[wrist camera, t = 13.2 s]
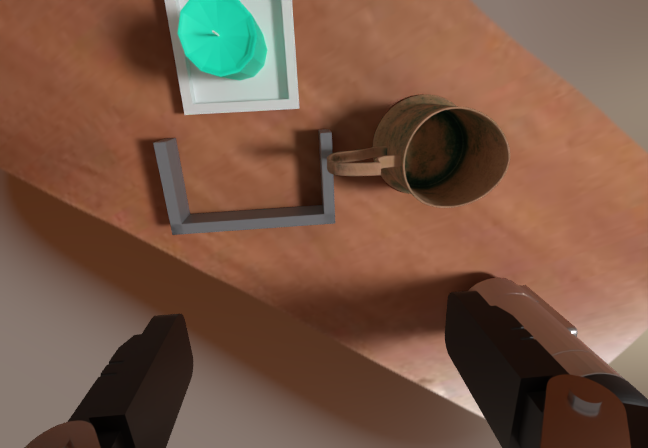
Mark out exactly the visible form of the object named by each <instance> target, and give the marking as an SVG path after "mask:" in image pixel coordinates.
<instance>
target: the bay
mask: <svg viewBox="0 0 648 448" xmlns="http://www.w3.org/2000/svg"><path fill="white" fill-rule="evenodd" d="M318 133H319V152H320V171H321V190H322V205H316V206H301V207H287V208H272V209H257V210H242V211H228V212H213V213H198V214H190V211H189V206H188V200H187V195H186V190H185V184H184V179H183V174H182V169H181V163H180V158H179V153H178V147H177V142H176V138H167V139H162V140H160V141H157V142H154V143H153V144H154V149H155V154H156V159H157V163H158V168H159V173H160V178H161V182H162V187H163V192H164V197H165V201H166V206H167V211H168V216H169V220H170V225H171V230H172V235H177V234H191V233H205V232H219V231H234V230H248V229H262V228H276V227H290V226H304V225H319V224H333V223H335V205H334V180H333V174H331V173H329V172H328V170H327V157H328V156H329V155H330V154H332V132H331V131H330V130H329V129H323V130H318Z"/></svg>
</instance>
